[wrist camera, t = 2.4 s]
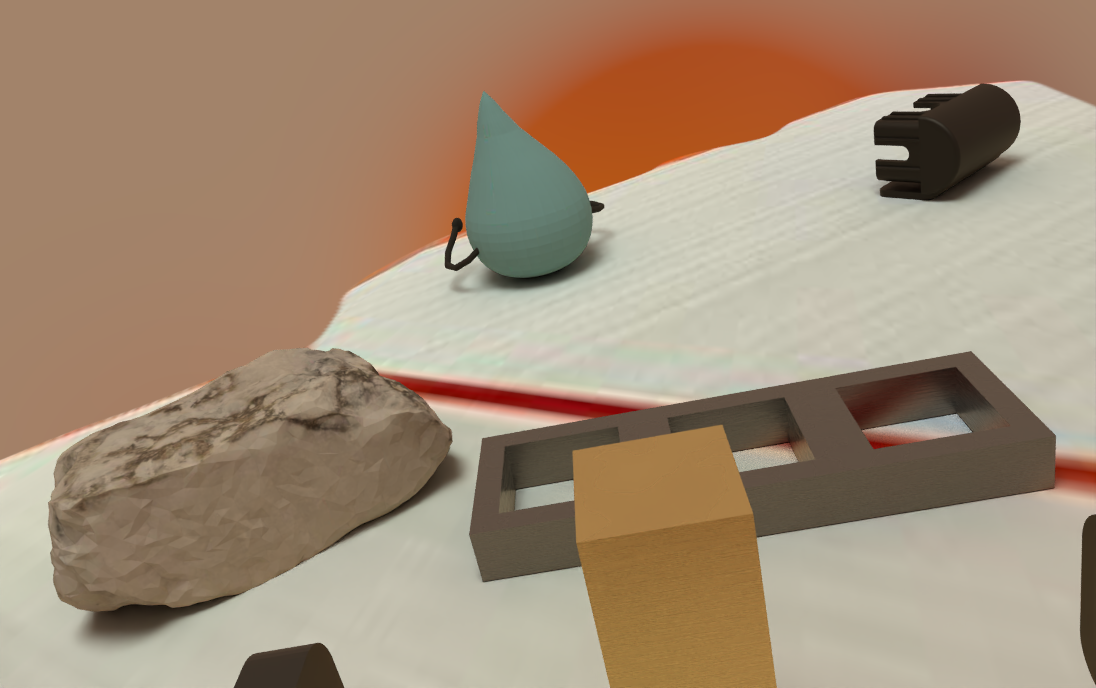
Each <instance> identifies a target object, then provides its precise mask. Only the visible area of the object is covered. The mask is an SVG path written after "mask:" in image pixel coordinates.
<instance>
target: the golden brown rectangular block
mask: <svg viewBox="0 0 1096 688" xmlns="http://www.w3.org/2000/svg"><path fill="white" fill-rule="evenodd" d="M573 475H574V500H575V524H576V544H577V548H578V552H579V557H580V561H581V565H582V569H583V574H584V578H585V582H586V586H587V591H588V595H589V599H590V603H591V608H592V612H593V616H594V620H595V625H596V629H597V633H598V637H599V642H600V646H601V650H602V655H603V659H604V663H605V667H606V672H607V676H608V680H609V684H610V688H777V686H776V679H775V672H774V664H773V657H772V649H771V642H770V635H769V627H768V620H767V612H766V605H765V598H764V590H763V583H762V575H761V568H760V560H759V553H758V546H757V538H756V531H755V523H754V516H753V512H752V509H751V506H750V503H749V500H748V497H747V494H746V491H745V489H744V486H743V483H742V480H741V477H740V474H739V471H738V468H737V466H736V463H735V460H734V457H733V454H732V451H731V448H730V445H729V443H728V440H727V437H726V434H725V431H724V428H723V425H717V426H711V427H706V428H700V429H694V430H688V431H683V432H677V433H671V434H666V435H660V436H654V437H649V438H643V439H637V440H631V441H626V442H620V443H614V444H609V445H603V446H597V447H592V448H586V449H580V450H574V451H573Z"/></svg>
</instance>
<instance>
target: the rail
mask: <svg viewBox="0 0 1096 688" xmlns="http://www.w3.org/2000/svg"><path fill="white" fill-rule="evenodd" d="M953 413H957V414H958V415H959V416H960V417H961V418H962V420H963V421H964V422H965V423H966V424H967V425H968V427H969V428H970V429H971V430H972V431H973V433H967V434H961V435H956V436H950V437H944V438H938V439H932V440H926V441H920V442H915V443H909V444H903V445H897V446H891V447H885V448H879V449H873V448H872V446H871V445H870V443H869V442H868V440H867V438H866V437H865V435H864V434H863V432H862V430H861V429H867V428H872V427H878V426H884V425H890V424H896V423H901V422H907V421H913V420H919V419H924V418H930V417H936V416H942V415H948V414H953ZM717 425H723V428H724V431H725V434H726V437H727V440H728V443H729V445H730V448H731V451H732V452H733V451H739V450H745V449H751V448H757V447H762V446H768V445H774V444H780V443H785V442H789V443H790V445H791V447H792V449H793V451H794V453H795V455H796V458H797V460H798V462H797V463H791V464H786V465H780V466H774V467H768V468H762V469H756V470H750V471H745V472H739V474H740V477H741V480H742V483H743V486H744V489H745V491H746V494H747V497H748V500H749V503H750V506H751V509H752V512H753V516H754V523H755V531H756V537H758V536H764V535H770V534H776V533H782V532H788V531H794V530H800V529H806V528H813V527H819V526H825V525H831V524H837V523H843V522H849V521H855V520H861V519H867V518H873V517H880V516H886V515H892V514H898V513H904V512H910V511H916V510H922V509H928V508H934V507H940V506H947V505H953V504H959V503H965V502H971V501H977V500H983V499H989V498H995V497H1001V496H1007V495H1014V494H1020V493H1026V492H1032V491H1038V490H1044V489H1050V488H1054V485H1055V450H1056V435H1055V434H1054V433H1053V432H1052V431H1051V430H1050V429H1049V428H1048V427H1047V426H1046V425H1045V424H1044V423H1043V422H1042V421H1041V420H1040V419H1039V418H1038V417H1037V416H1036V415H1035V414H1034V413H1033V412H1032V411H1031V410H1030V409H1029V408H1028V407H1027V406H1026V405H1025V404H1024V403H1023V402H1022V401H1021V400H1020V399H1019V398H1018V397H1017V396H1016V395H1015V394H1014V393H1013V392H1012V391H1011V390H1010V389H1009V388H1007V387H1006V386H1005V385H1004V384H1003V383H1002V382H1001V381H1000V380H999V379H998V378H997V377H996V376H995V375H994V374H993V373H992V372H991V371H990V370H989V369H988V368H987V367H986V366H985V365H984V364H983V363H982V362H981V361H980V360H979V359H978V358H977V357H976V356H975V355H974V354H973V353H972V352H971V351H970V352H965V353H959V354H953V355H948V356H942V357H936V358H931V359H925V360H920V361H914V362H908V363H903V364H897V365H892V366H886V367H880V368H875V369H869V370H863V371H858V372H852V373H847V374H841V375H835V376H830V377H824V378H819V379H813V380H807V381H802V382H796V383H790V384H785V385H779V386H774V387H768V388H762V389H757V390H751V391H746V392H740V393H734V394H729V395H723V396H718V397H712V398H706V399H701V400H695V401H689V402H684V403H678V404H673V405H667V406H661V407H656V408H650V409H645V410H639V411H633V412H628V413H622V414H616V415H611V416H605V417H600V418H594V419H588V420H583V421H577V422H572V423H566V424H560V425H555V426H549V427H544V428H538V429H532V430H527V431H521V432H515V433H510V434H504V435H499V436H493V437H487V438H482V445H481V453H480V460H479V467H478V475H477V482H476V489H475V497H474V504H473V511H472V519H471V526H470V533H469V536H470V539H471V542H472V546H473V549H474V553H475V556H476V559H477V563H478V566H479V570H480V573H481V577H482V580H483V582H484V581H490V580H496V579H502V578H508V577H514V576H520V575H526V574H532V573H539V572H545V571H551V570H557V569H563V568H569V567H575V566H581V561H580V557H579V552H578V548H577V544H576V524H575V501H569V502H563V503H557V504H551V505H545V506H539V507H533V508H528V509H522V510H516V511H514V509H515V493H516V489H519V488H525V487H531V486H536V485H542V484H548V483H554V482H560V481H565V480H571V479H574V475H573V451H574V450H580V449H586V448H592V447H597V446H603V445H609V444H614V443H620V442H626V441H631V440H637V439H643V438H649V437H654V436H660V435H666V434H671V433H677V432H683V431H688V430H694V429H700V428H706V427H711V426H717Z"/></svg>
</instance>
